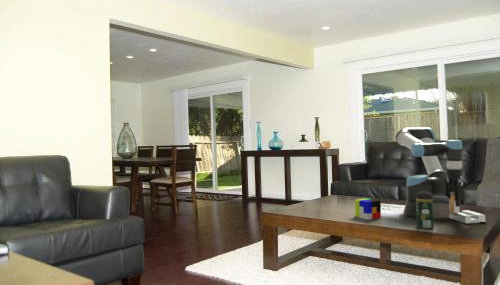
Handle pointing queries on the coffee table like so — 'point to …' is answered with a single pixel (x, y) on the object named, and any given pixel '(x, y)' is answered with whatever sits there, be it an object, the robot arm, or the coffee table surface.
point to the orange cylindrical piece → (452, 202)
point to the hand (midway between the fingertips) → (454, 211)
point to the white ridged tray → (467, 216)
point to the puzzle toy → (368, 208)
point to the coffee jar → (424, 209)
